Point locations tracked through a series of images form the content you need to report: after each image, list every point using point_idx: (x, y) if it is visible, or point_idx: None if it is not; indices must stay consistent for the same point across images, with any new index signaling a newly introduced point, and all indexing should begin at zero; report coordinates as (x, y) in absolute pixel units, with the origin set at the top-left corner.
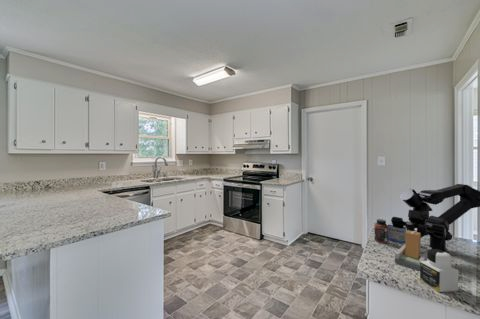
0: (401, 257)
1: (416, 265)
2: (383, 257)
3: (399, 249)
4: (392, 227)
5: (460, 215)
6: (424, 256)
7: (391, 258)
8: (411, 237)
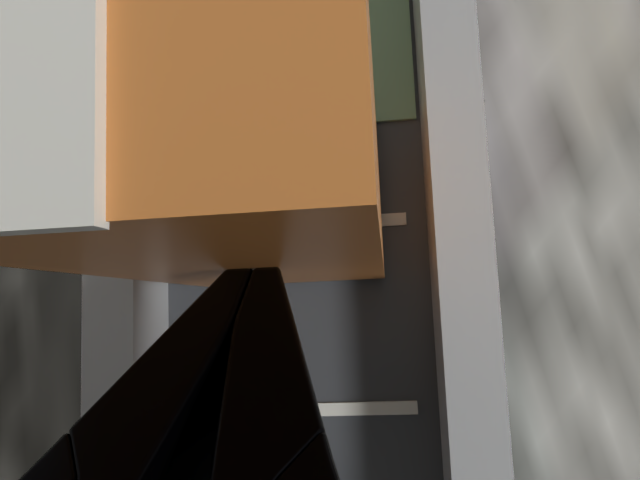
0: (394, 3)
1: None
2: (622, 3)
3: (478, 103)
4: None
5: None
6: None
7: (532, 65)
8: None
